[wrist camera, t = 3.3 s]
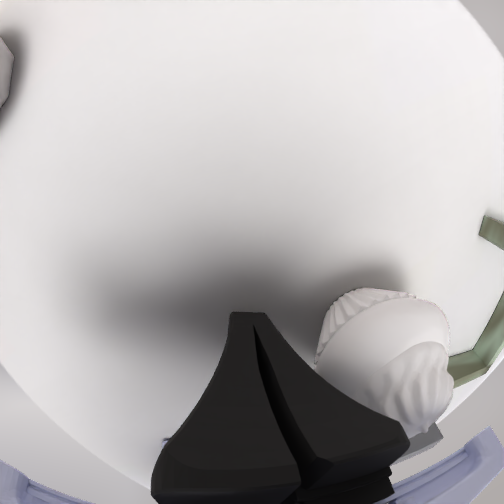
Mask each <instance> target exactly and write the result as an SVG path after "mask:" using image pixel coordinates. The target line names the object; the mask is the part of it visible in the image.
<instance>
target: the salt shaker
mask: <svg viewBox="0 0 504 504" xmlns="http://www.w3.org/2000/svg"><path fill="white" fill-rule="evenodd" d="M13 62H14V56H13V54H12V53H11V52H10V50H9V49H8V47H7V46H6V44H5V43H4V41H3V40H2V38H1V37H0V108H1V107H2V105H3V104H4V102H5V101H6V99H7V98H8V96H9V90H10V82H11V74H12V68H13Z"/></svg>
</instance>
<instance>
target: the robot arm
mask: <svg viewBox="0 0 504 504" xmlns="http://www.w3.org/2000/svg"><path fill="white" fill-rule="evenodd" d="M410 445H411V444H410V441H409V439H408V437H407V435H406V433H405V431H404V429H403V427H402V425H401V424H400V422H399V421H397V420H394V419H392V418H389V417H387V416H385V415H382V414H380V413H378V412H375V411H373V410H371V409H369V408H368V407H366V406H364V405H362V404H360V403H358V402H357V401H355V400H353V399H352V398H350V397H348V396H347V395H345V394H344V393H342V392H341V391H339V390H338V389H336V388H335V387H334V386H332V385H331V384H330V383H328V382H327V381H326V380H325V379H323V378H322V377H321V376H320V375H319V374H317V373H316V372H315V371H314V370H313V369H312V368H311V367H310V366H309V365H308V364H307V363H306V362H305V361H304V360H303V359H302V358H301V357H300V356H299V355H298V354H297V353H296V352H295V351H294V350H293V348H292V347H291V346H290V345H289V344H288V343H287V341H286V340H285V339H284V338H283V337H282V335H281V334H280V333H279V331H278V330H277V329H276V327H275V326H274V325H273V323H272V322H271V321H270V319H269V318H268V317H267V315H266V314H265V313H253V312H232V313H231V314H230V317H229V327H228V337H227V341H226V344H225V348H224V351H223V353H222V356H221V358H220V361H219V363H218V366H217V368H216V370H215V372H214V375H213V377H212V379H211V381H210V383H209V384H208V386H207V388H206V390H205V391H204V393H203V395H202V397H201V398H200V400H199V401H198V403H197V405H196V406H195V408H194V409H193V410H192V412H191V413H190V415H189V416H188V417H187V419H186V420H185V421H184V423H183V424H182V425H181V427H180V428H179V429H178V430H177V431H176V433H175V434H174V435H173V436H172V437H171V438H170V439H169V441H163V442H162V448H163V449H162V451H161V453H160V455H159V457H158V460H157V462H156V464H155V467H154V470H153V473H152V478H151V496H152V497H153V498H154V499H155V500H156V501H157V502H158V504H387V503H388V504H470V503H471V502H472V501H473V500H474V499H475V498H476V497H477V495H479V494H480V493H481V492H482V490H483V489H484V488H485V487H486V486H487V485H488V484H489V483H490V482H491V481H492V480H493V479H494V478H495V477H496V476H497V475H498V474H499V473H500V472H501V471H502V470H503V469H504V448H503V446H502V445H501V443H500V441H499V440H498V438H497V436H496V435H495V433H494V432H493V430H492V428H491V427H490V426H488V427H487V428H485V429H484V430H483V431H481V432H480V433H478V434H477V435H476V436H475V437H473V438H472V439H471V440H470V441H469V442H468V443H466V444H465V446H464V447H462V448H461V449H459V450H458V451H456V452H455V453H453V454H451V455H450V456H448V457H446V458H445V459H443V460H441V461H439V462H438V463H436V464H434V465H432V466H430V467H428V468H427V469H425V470H423V471H421V472H419V473H417V474H415V475H413V476H411V477H409V478H406V479H404V480H402V481H400V482H398V483H395V484H393V485H392V484H391V482H390V480H389V476H391V475H392V472H391V469H390V467H389V466H390V465H391V464H393V463H394V462H395V461H396V460H397V459H399V458H400V457H401V456H402V455H403V454H404V453H405V452H406V451H407V450H408V449H409V447H410ZM0 504H94V503H90V502H87V501H84V500H81V499H78V498H75V497H72V496H69V495H67V494H63V493H61V492H59V491H56V490H54V489H51V488H49V487H46V486H44V485H42V484H40V483H37V482H35V481H33V480H31V479H29V478H28V477H27V476H26V475H24V474H23V473H22V472H20V471H19V470H17V469H16V468H14V467H12V466H11V465H9V464H7V463H5V462H3V461H2V460H0Z"/></svg>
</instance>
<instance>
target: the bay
mask: <svg viewBox="0 0 504 504" xmlns="http://www.w3.org/2000/svg"><path fill="white" fill-rule="evenodd" d="M479 235H480V236H481V237H483V238H485V239H486V240H488V241H490V242H491V243H493V244H494V245H496V246H498V247H499V248H501V249H502V250H504V222H501V221H498V220H496V219H493V218H490V217H487V216H484V219H483V223H482V226H481V230H480V233H479ZM503 347H504V293H503V295H502V297H501V299H500V301H499V303H498V305H497V307H496V309H495V311H494V313H493V315H492V317H491V319H490V321H489V323H488V325H487V326H486V328H485V330H484V332H483V334H482V335H481V337H480V339H479V340H478V342H477V344H476V345H475V347H474V349H473V350H471V351H468V352H465V353H462V354H459V355H455V356H452V357H449V361H448V366H447V372H448V373H449V374H450V375H451V376H452V377H453V379H454V387H453V389H454V388H456V387H458V386H461V385H463V384H465V383H467V382H469V381H471V380H474V379H476V378H478V377H480V376H482V375H484V374H486V372H487V371H488V370H489V368H490V367H491V365H492V364H493V362H494V361H495V359H496V358H497V356H498V355H499V353H500V352H501V350H502V349H503Z"/></svg>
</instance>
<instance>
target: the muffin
mask: <svg viewBox="0 0 504 504" xmlns="http://www.w3.org/2000/svg"><path fill="white" fill-rule="evenodd" d="M449 344H450V328H449V324H448V321H447V318H446V316H445V314H444V312H443V311H442V310H441V309H440V308H439V307H438V306H437V305H436V304H434V303H432V302H429V301H427V300H422V299H416V296H415V295H409V294H408V293H406V292H398V291H390V290H383V289H375V288H365V287H363V288H361V289H360V288H357V289H356V290H355V291H353V290H351V291H350V292H349V293H345V294H344V295H343V296H342V297H339V298H338V300H337V301H335V302H333V305H331V306H330V309H329V310H328V311H327V313H326V316H325V317H324V321H323V325H322V330H321V334H320V339H319V343H318V347H317V352H316V356H315V360H314V364H315V368H314V371H315V372H316V373H317V374H319V375H320V376H321V377H322V378H323V379H325V380H326V381H327V382H328V383H330V384H331V385H332V386H334V387H335V388H336V389H338V390H339V391H341V392H342V393H344V394H345V395H347V396H348V397H350V398H352V399H353V400H355V401H357V402H358V403H360V404H362V405H364V406H366V407H368V408H369V409H371V410H373V411H375V412H378V413H380V414H382V415H385V416H387V417H389V418H392V419H394V420H397V421H399V422H400V424H401V425H402V427H403V429H404V431H405V433H406V435H407V437H408V439H409V438H412V437H414V436H415V435H417V434H419V433H421V432H423V433H427V431H428V428H429V427H430V426H431V424H432V423H434V422H436V421H437V420H438V419H439V417H440V416H441V415H442V414H443V413H444V412H445V410H446V409H447V407H448V405H449V403H450V402H451V399H452V396H453V387H454V379H453V377H452V376H451V375H450V374H449V373H448V372H447V366H448V361H449V357H448V354H447V352H448V349H449Z"/></svg>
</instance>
